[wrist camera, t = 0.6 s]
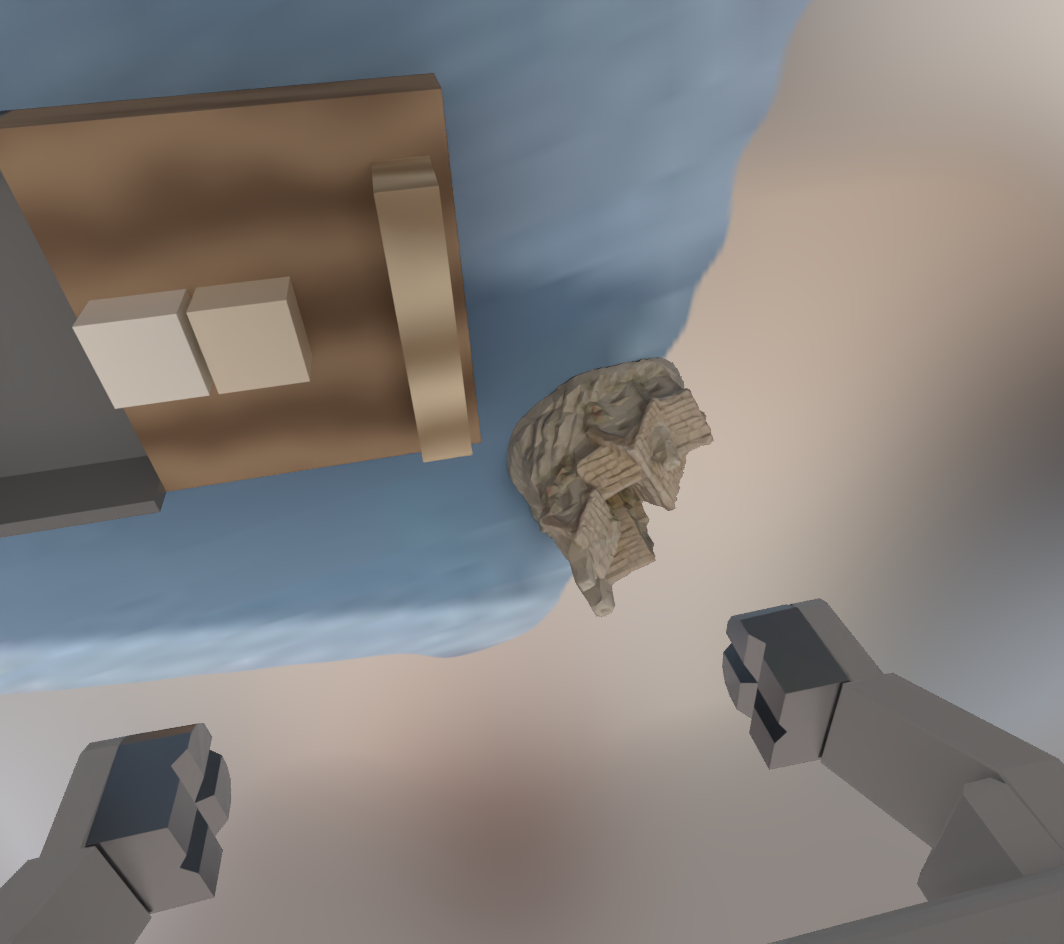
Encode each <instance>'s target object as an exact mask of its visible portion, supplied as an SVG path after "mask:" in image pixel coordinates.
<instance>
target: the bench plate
mask: <svg viewBox="0 0 1064 944" xmlns="http://www.w3.org/2000/svg"><path fill="white" fill-rule="evenodd" d="M419 156H430V159H431V162H432V165H433V169H434V172H435V175H436V178H437V182H438V185H439V192H440V200H441V208H442V216H443V223H444V231H445V239H446V247H447V255H448V263H449V271H450V279H451V287H452V295H453V303H454V311H455V319H456V327H457V335H458V343H459V351H460V359H461V367H462V375H463V383H464V391H465V399H466V407H467V415H468V423H469V431H470V439H471V444H474V443H481V436H480V427H479V418H478V409H477V400H476V392H475V383H474V374H473V365H472V356H471V347H470V338H469V330H468V321H467V312H466V303H465V294H464V285H463V277H462V268H461V259H460V250H459V241H458V232H457V223H456V215H455V206H454V197H453V188H452V179H451V170H450V162H449V153H448V144H447V135H446V126H445V117H444V108H443V100H442V91H441V87H440V85H439V83H438V81H437V79H436V77H435V75H434V73H430V74H418V75H407V76H396V77H384V78H373V79H361V80H350V81H339V82H327V83H316V84H305V85H293V86H282V87H270V88H259V89H248V90H236V91H225V92H214V93H202V94H191V95H179V96H168V97H157V98H145V99H134V100H123V101H111V102H100V103H88V104H77V105H66V106H54V107H43V108H32V109H20V110H12V111H11V112H9V113H7V114H6V115H4V116H3V117H1V118H0V170H1V172H2V174H3V176H4V178H5V180H6V182H7V183H8V185H9V187H10V189H11V191H12V193H13V195H14V197H15V199H16V201H17V203H18V205H19V207H20V209H21V211H22V213H23V215H24V216H25V218H26V220H27V222H28V224H29V226H30V228H31V230H32V232H33V234H34V236H35V238H36V240H37V242H38V244H39V246H40V248H41V249H42V251H43V253H44V255H45V257H46V259H47V261H48V263H49V265H50V267H51V269H52V271H53V273H54V275H55V277H56V279H57V281H58V282H59V284H60V286H61V288H62V290H63V292H64V294H65V296H66V298H67V300H68V302H69V304H70V306H71V308H72V310H73V312H74V314H75V315H76V317H77V319H78V317H79V315H80V314H81V312H82V311H83V309H84V308H85V306H86V305H87V303H88V302H89V301H91V300H99V299H107V298H115V297H124V296H132V295H140V294H148V293H156V292H165V291H173V290H181V289H187V292H188V294H189V297H190V299H192V297H193V294H194V292H195V289H196V288H198V287H206V286H214V285H222V284H230V283H239V282H247V281H255V280H263V279H272V278H280V277H288V276H290V278H291V282H292V285H293V289H294V292H295V296H296V299H297V303H298V307H299V310H300V314H301V317H302V321H303V324H304V328H305V331H306V335H307V338H308V342H309V345H310V349H311V352H312V364H311V376H310V381H309V382H302V383H295V384H288V385H281V386H274V387H267V388H259V389H252V390H245V391H238V392H231V393H224V394H219V393H218V391H217V388H216V386H215V383H214V382H213V385H212V389H211V392H210V396H203V397H196V398H188V399H181V400H174V401H167V402H160V403H153V404H146V405H139V406H132V407H125V408H123V409H124V411H125V413H126V414H127V416H128V418H129V420H130V422H131V424H132V426H133V428H134V430H135V432H136V434H137V436H138V438H139V440H140V442H141V444H142V446H143V447H144V449H145V451H146V453H147V455H148V457H149V459H150V461H151V463H152V465H153V467H154V469H155V471H156V473H157V475H158V477H159V479H160V480H161V482H162V484H163V486H164V488H165V490H166V492H167V491H174V490H180V489H187V488H193V487H199V486H206V485H212V484H219V483H225V482H231V481H238V480H244V479H251V478H257V477H263V476H270V475H276V474H283V473H289V472H295V471H302V470H308V469H315V468H321V467H327V466H334V465H340V464H346V463H353V462H359V461H366V460H372V459H378V458H385V457H391V456H398V455H404V454H410V453H417V452H422V451H421V446H420V441H419V435H418V430H417V424H416V419H415V414H414V408H413V403H412V398H411V392H410V387H409V381H408V376H407V371H406V365H405V360H404V354H403V349H402V344H401V338H400V333H399V327H398V322H397V317H396V311H395V306H394V301H393V295H392V290H391V284H390V279H389V274H388V268H387V263H386V257H385V252H384V247H383V241H382V236H381V230H380V225H379V220H378V214H377V209H376V204H375V198H374V193H373V180H372V168H371V161H380V160H390V159H399V158H409V157H419Z"/></svg>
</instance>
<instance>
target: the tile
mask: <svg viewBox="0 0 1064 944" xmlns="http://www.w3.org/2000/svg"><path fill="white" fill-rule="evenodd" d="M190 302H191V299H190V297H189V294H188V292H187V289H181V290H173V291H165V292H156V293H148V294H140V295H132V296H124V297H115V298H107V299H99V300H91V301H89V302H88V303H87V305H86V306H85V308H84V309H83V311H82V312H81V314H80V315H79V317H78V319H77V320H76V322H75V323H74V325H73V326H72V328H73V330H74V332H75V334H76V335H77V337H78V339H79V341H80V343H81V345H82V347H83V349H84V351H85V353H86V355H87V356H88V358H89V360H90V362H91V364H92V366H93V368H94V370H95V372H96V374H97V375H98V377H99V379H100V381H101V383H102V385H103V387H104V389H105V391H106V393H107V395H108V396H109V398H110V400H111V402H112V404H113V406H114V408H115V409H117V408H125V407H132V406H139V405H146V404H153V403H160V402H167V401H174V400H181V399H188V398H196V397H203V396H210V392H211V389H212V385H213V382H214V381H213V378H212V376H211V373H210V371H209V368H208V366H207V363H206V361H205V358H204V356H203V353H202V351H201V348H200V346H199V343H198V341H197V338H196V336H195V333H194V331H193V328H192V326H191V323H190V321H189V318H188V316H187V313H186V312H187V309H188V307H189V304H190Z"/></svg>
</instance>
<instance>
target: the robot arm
mask: <svg viewBox="0 0 1064 944" xmlns="http://www.w3.org/2000/svg"><path fill="white" fill-rule="evenodd" d="M726 634H727V635H728V637H729V639H730V641H731V642H732V643H731V644H730V645H729V647H728V648H727V649H726V650H725V651H724V652H723V665H722V668H723V673H724V680H725V684H726V687H727V689H728V692H729V695H730V697H731V699H732V701H733V703H734V705H735V707H736V709H737V710H739V711H740V712H742V713H743V714H745V715H747V716H748V717H750V718H751V719H752V720H751V726H750V732H749V733H750V735H751V737H752V739H753V740H754V743H755V744H756V746H757V748H758V750H759V752H760V753H761V755H762V757H763V759H764V761H765V763H766V765H767V767H768V768H769V770H770V769H775V768H779V767H785V766H790V765H794V764H800V763H805V762H809V761H815V760H820V759H821V763H822V764H824V765H825V766H826V767H828V768H829V769H830V770H831V771H833V772H834V773H835V774H837V775H838V776H839V777H840V778H842V779H843V780H844V781H846V782H847V783H848V784H850V785H851V786H852V787H854V788H855V789H856V790H857V791H859V792H860V793H861V794H863V795H864V796H865V797H866V798H868V799H869V800H870V801H872V802H873V803H874V804H876V805H877V806H878V807H879V808H881V809H882V810H883V811H885V812H886V813H887V814H889V815H890V816H891V817H893V818H894V819H895V820H896V821H898V822H899V823H901V824H902V825H903V826H904V827H906V828H907V829H909V831H911V832H912V833H913V834H915V835H916V836H917V837H919V838H920V839H921V840H923V841H924V842H925V843H926V844H928V845H929V846H930V847H932V850H931V852H930V855H929V856H928V858H927V860H926V863H925V864H924V866H923V868H922V870H921V872H920V875H919V879H918V882H917V884H918V886H919V888H920V889H921V891H922V892H923V894H924V896H925V897H926V899H927V900H928V902H924V903H921V904H917V905H913V906H909V907H905V908H902V909H898V910H894V911H890V912H886V913H883V914H879V915H875V916H871V917H867V918H864V919H860V920H856V921H852V922H849V923H845V924H841V925H837V926H833V927H830V928H826V929H822V930H818V931H814V932H811V933H807V934H803V935H799V936H796V937H792V938H788V939H784V940H780V941H777V942H773V943H769V944H1064V764H1063V763H1062V762H1061V761H1060V760H1059V759H1058V758H1056V757H1054V756H1052V755H1050V754H1048V753H1046V752H1045V751H1043V750H1041V749H1039V748H1037V747H1035V746H1033V745H1031V744H1029V743H1027V742H1025V741H1023V740H1021V739H1019V738H1017V737H1016V736H1014V735H1012V734H1010V733H1008V732H1006V731H1004V730H1002V729H1000V728H998V727H996V726H994V725H992V724H991V723H989V722H987V721H985V720H983V719H981V718H979V717H977V716H975V715H973V714H971V713H969V712H967V711H965V710H964V709H962V708H960V707H958V706H956V705H954V704H952V703H950V702H948V701H946V700H944V699H942V698H940V697H939V696H937V695H935V694H933V693H931V692H929V691H927V690H925V689H923V688H921V687H919V686H917V685H915V684H913V683H911V682H910V681H908V680H906V679H904V678H902V677H900V676H898V675H896V674H894V673H889V674H883V672H882V671H881V670H880V669H879V667H878V666H877V665H876V664H875V662H874V661H873V660H872V659H871V657H870V656H869V655H868V654H867V652H866V651H865V650H864V649H863V647H862V646H861V645H860V644H859V642H858V641H857V640H856V638H855V637H854V636H853V635H852V634H851V632H850V631H849V630H848V628H847V627H846V626H845V625H844V624H843V622H842V621H841V620H840V618H839V617H838V616H837V615H836V613H835V612H834V611H833V610H832V608H831V607H830V606H829V605H828V603H827V602H825V601H824V600H822V599H820V598H819V599H814V600H809V601H804V602H799V603H794V604H790V605H781V606H777V607H772V608H767V609H763V610H758V611H753V612H749V613H744V614H739V615H735V616H732V617H731V618H730V619H729V621H728V624H727V630H726ZM211 740H212V736H211V734H210V732H209V731H208V729H207V728H206V726H205V724H204V723H199V724H192V725H187V726H181V727H175V728H169V729H164V730H158V731H152V732H146V733H141V734H135V735H129V736H125V737H119V738H114V739H109V740H103V741H98V742H92V743H90V744H89V745H88V746H87V747H86V748H85V750H83V751H82V753H81V754H80V756H79V758H78V761H77V764H76V766H75V768H74V771H73V774H72V776H71V779H70V781H69V784H68V786H67V789H66V792H65V794H64V796H63V799H62V801H61V804H60V807H59V809H58V812H57V814H56V817H55V819H54V822H53V824H52V827H51V829H50V832H49V835H48V837H47V840H46V842H45V845H44V847H43V850H42V852H41V855H40V857H39V858H35V859H31V860H28V861H27V862H26V863H25V864H24V865H23V866H22V867H21V868H20V869H19V870H18V871H17V872H16V873H15V874H14V875H13V876H12V877H11V878H10V879H9V880H8V881H7V882H6V883H5V884H4V885H3V886H2V887H1V888H0V944H134V943H135V942H136V940H137V939H138V937H139V936H140V934H141V933H142V931H143V930H144V928H145V927H146V925H147V924H148V922H149V921H150V919H151V916H150V914H152V913H156V912H160V911H164V910H168V909H171V908H175V907H179V906H183V905H187V904H191V903H195V902H199V901H202V900H206V899H210V898H214V896H215V891H216V885H217V880H218V874H219V868H220V863H221V857H222V852H223V849H222V848H221V846H220V845H219V843H218V841H217V839H216V838H215V836H216V834H217V833H218V832H219V830H220V829H221V828H222V827H223V825H224V824H225V823H226V822H227V820H228V817H229V811H230V804H231V780H230V775H229V771H228V767H227V764H226V762H225V760H224V759H223V756H222V755H220V754H218V753H216V752H214V751H211V750H210V745H211Z"/></svg>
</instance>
